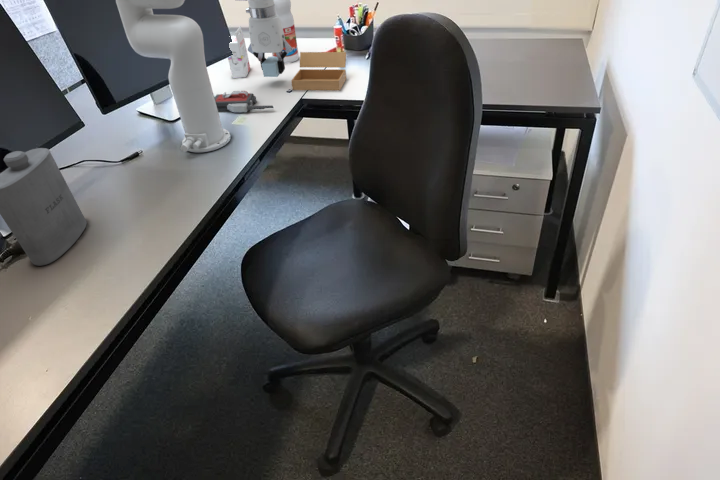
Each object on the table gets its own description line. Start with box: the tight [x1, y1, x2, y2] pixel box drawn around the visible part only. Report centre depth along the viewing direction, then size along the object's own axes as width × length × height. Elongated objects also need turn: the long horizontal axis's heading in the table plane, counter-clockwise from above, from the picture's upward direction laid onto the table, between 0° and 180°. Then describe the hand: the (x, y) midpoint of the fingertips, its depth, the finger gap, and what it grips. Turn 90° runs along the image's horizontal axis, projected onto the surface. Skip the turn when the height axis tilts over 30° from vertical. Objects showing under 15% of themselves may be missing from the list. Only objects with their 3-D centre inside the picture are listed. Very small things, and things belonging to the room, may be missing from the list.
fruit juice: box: [271, 0, 300, 64], centre depth 169 cm, size 9×9×28 cm
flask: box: [0, 147, 88, 267], centre depth 92 cm, size 15×6×20 cm, turn 175°
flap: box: [299, 51, 347, 68], centre depth 157 cm, size 5×15×1 cm
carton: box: [290, 68, 347, 91], centre depth 155 cm, size 10×15×3 cm, turn 79°
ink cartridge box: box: [227, 25, 251, 79], centre depth 165 cm, size 9×5×15 cm, turn 179°
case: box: [260, 56, 281, 78], centre depth 155 cm, size 7×5×4 cm, turn 169°
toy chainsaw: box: [214, 90, 274, 113], centre depth 145 cm, size 9×4×20 cm
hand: (273, 71), depth 156 cm, fingers closed on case, 4 cm apart
